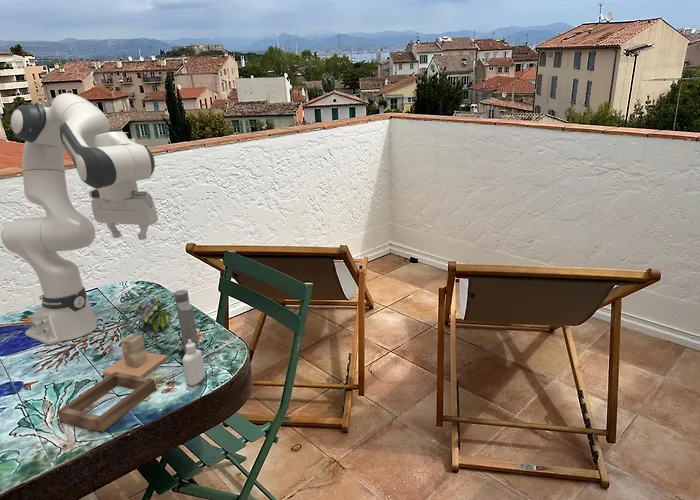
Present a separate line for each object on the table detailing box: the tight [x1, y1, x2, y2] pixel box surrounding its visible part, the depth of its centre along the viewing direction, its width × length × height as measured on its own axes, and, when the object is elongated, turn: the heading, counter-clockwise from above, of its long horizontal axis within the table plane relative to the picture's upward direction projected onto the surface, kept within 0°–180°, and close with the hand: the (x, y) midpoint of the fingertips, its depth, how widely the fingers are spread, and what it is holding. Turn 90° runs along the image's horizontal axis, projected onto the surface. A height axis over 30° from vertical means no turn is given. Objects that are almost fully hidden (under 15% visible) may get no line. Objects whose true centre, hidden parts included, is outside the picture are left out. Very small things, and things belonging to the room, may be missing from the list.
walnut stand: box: [56, 372, 157, 433], centre depth 112 cm, size 13×17×3 cm
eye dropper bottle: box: [182, 339, 206, 386], centre depth 120 cm, size 4×6×12 cm
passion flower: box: [135, 296, 175, 333], centre depth 153 cm, size 11×11×12 cm
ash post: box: [119, 333, 147, 368], centre depth 128 cm, size 4×4×8 cm
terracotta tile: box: [102, 351, 169, 378], centre depth 129 cm, size 12×12×1 cm
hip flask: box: [173, 289, 200, 355], centre depth 132 cm, size 16×4×20 cm, turn 25°
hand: (129, 238), depth 132 cm, fingers open, 8 cm apart
